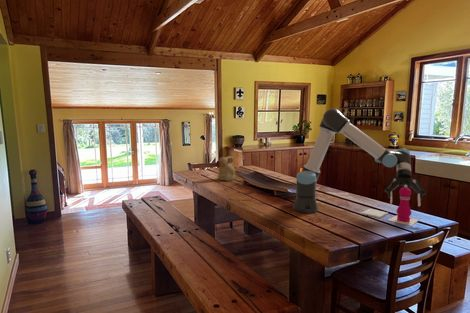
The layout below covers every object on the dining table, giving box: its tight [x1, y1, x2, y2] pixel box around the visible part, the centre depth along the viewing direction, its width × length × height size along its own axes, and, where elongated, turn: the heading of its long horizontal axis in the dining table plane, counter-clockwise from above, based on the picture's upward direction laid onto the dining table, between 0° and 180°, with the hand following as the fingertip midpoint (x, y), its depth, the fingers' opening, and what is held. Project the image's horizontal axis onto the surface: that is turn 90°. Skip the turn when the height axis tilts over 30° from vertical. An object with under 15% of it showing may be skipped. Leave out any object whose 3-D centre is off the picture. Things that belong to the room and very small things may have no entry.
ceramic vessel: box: [217, 151, 236, 182], centre depth 291 cm, size 17×20×25 cm
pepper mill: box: [396, 185, 412, 222], centre depth 176 cm, size 7×7×20 cm
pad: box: [360, 208, 389, 219], centre depth 189 cm, size 11×11×1 cm
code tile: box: [387, 214, 420, 227], centre depth 178 cm, size 12×12×1 cm
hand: (405, 203), depth 174 cm, fingers open, 13 cm apart
